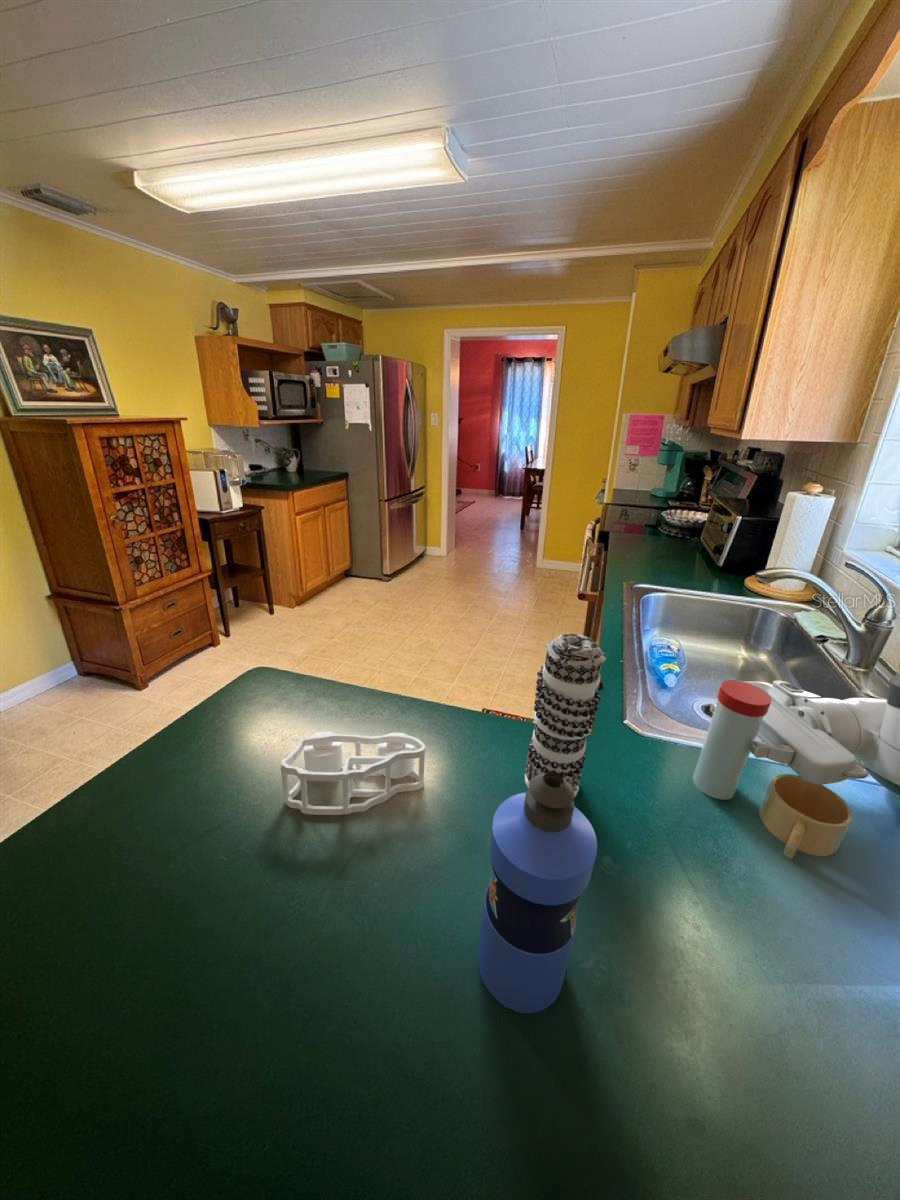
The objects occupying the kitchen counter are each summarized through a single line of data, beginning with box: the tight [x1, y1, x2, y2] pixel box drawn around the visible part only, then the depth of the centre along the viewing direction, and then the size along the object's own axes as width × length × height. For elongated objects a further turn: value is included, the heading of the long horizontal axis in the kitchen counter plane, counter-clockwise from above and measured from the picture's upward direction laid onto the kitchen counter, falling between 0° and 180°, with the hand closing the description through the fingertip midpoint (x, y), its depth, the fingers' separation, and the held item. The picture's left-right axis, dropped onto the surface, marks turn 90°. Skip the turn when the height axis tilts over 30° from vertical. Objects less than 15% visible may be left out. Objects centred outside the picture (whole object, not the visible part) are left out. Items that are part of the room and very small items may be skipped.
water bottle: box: [477, 772, 598, 1014], centre depth 45 cm, size 9×9×25 cm
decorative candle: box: [524, 633, 607, 799], centre depth 69 cm, size 9×9×25 cm
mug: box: [758, 773, 854, 859], centre depth 66 cm, size 12×9×6 cm
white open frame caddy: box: [280, 731, 427, 816], centre depth 70 cm, size 20×11×7 cm, turn 93°
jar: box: [692, 679, 772, 801], centre depth 71 cm, size 6×6×18 cm
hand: (731, 728), depth 71 cm, fingers open, 8 cm apart
